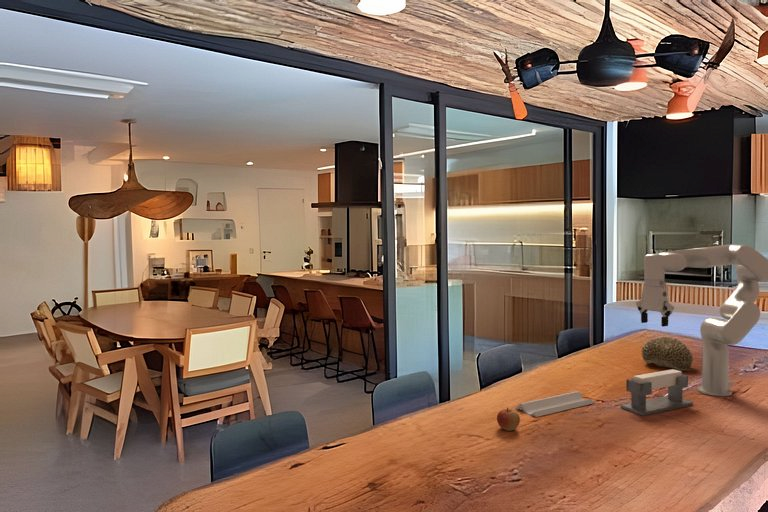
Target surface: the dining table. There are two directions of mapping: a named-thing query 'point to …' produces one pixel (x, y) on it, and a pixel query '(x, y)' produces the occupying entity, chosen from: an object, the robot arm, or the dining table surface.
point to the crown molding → (554, 404)
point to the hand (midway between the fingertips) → (654, 324)
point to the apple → (508, 419)
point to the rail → (659, 378)
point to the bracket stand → (655, 404)
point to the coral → (667, 353)
